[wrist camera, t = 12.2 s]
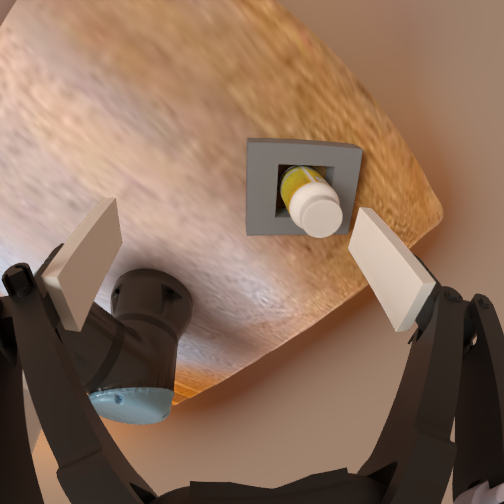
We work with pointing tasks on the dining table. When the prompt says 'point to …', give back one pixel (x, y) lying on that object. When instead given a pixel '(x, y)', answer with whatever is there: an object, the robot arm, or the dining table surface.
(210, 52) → the dining table surface
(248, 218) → the bottle holder
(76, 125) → the dining table surface
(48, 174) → the dining table surface
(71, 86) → the dining table surface
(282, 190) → the pill bottle
